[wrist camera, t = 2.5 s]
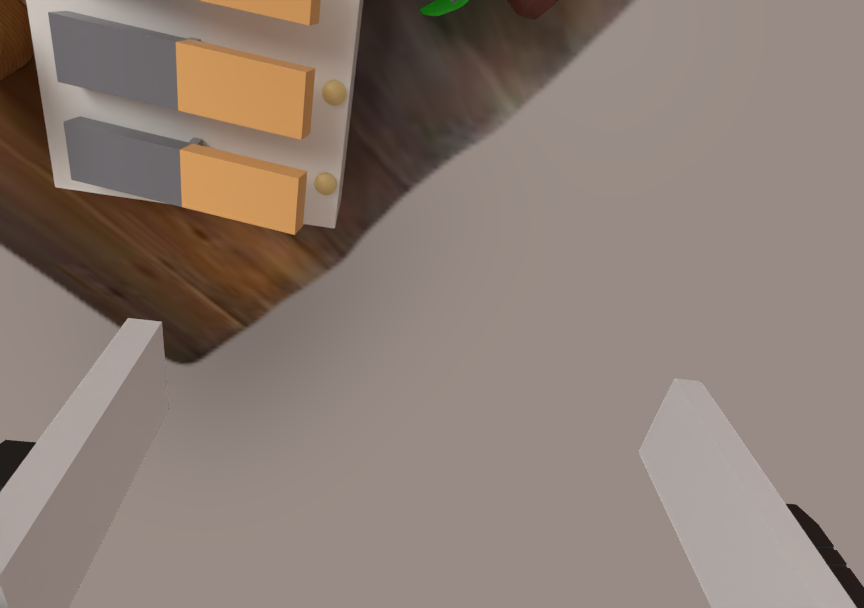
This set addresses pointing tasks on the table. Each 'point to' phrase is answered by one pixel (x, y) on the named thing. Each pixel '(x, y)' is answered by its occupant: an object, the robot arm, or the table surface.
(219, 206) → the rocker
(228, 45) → the switch box
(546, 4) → the potted plant
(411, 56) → the table surface
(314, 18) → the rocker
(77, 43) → the rocker mid
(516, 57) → the table surface
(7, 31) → the disposable coffee cup
